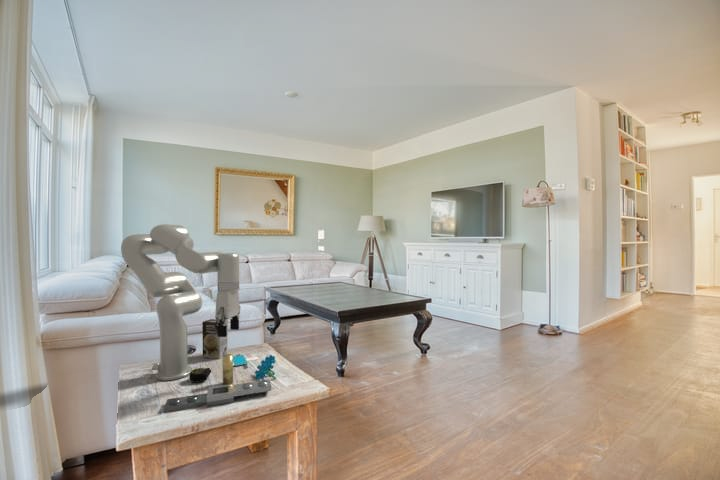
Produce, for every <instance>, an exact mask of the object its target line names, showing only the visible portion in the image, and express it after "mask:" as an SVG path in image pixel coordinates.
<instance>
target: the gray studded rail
mask: <svg viewBox="0 0 720 480" xmlns="http://www.w3.org/2000/svg"><path fill="white" fill-rule="evenodd" d="M270 380H271V379H263V380H257V381H250V382H244V383H235V384H234V383H232V384H228V385H224V384H222V385H216V386H215V385H214V386H210V387H209V386H208V387H207V393H199V394H192V395H187V396H186V395H185V396H180V397H179V396H178V397H173V398H167V399H166V402H165V405H164V407H163V413H169V412H176V411H181V410H182V411H183V410H187V409H189V410H190V409H194V408H199V407H207V408H208V407H214V406H215V407H216V406H220V405H226V404H232V403H233V404H234V403H235V402H234V400H235V399H234V398H235V397H238V396H239V397H240V396H242V397H243V398H249V397H252V396H253V394H258V395H260V396H261V395H266V394H268V392H270V391H272V383H271V381H270Z"/></svg>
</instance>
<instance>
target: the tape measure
mask: <svg viewBox="0 0 720 480" xmlns="http://www.w3.org/2000/svg"><path fill="white" fill-rule="evenodd" d="M211 373H212V369H211V368H210V367H205V368H204V367H198V368H195V369H192V371H191V372H190V374H189V375H188V376H189V381H190V382H192V383H198V382H204V381H206V380H207V379H208V377H209V376H210V375H211Z"/></svg>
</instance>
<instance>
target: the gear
mask: <svg viewBox="0 0 720 480" xmlns="http://www.w3.org/2000/svg"><path fill="white" fill-rule="evenodd" d="M276 362H277V361H276V356H274V355H272V354H270V355H269V356H268V355H267V356H265V359H262V360H261V361H260V364H258V365H257V367H256V368H257V369H258V370H255V372H254V378H256V379H258V381H261V379H264V378H265V377H266V375H268V377H269V378H272V379H274V380H276V379H277V377H276V376H275V375H276V373H275V371H273V369H274V367H275V363H276ZM273 364H274V365H273Z"/></svg>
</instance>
